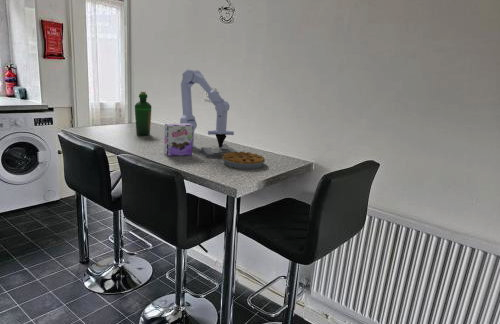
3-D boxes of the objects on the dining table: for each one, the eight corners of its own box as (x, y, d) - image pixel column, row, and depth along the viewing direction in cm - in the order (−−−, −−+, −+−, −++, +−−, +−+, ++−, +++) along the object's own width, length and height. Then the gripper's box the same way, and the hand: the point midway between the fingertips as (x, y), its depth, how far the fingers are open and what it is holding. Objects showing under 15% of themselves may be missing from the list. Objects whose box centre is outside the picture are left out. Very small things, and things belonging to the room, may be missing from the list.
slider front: (213, 153, 181) (213, 147, 180) (211, 151, 185) (211, 145, 184) (218, 153, 182) (218, 147, 181) (216, 151, 186) (217, 145, 185)
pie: (230, 171, 159) (231, 161, 158) (215, 159, 178) (216, 150, 177) (271, 169, 168) (272, 159, 167) (253, 158, 187) (254, 149, 186)
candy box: (166, 156, 176) (167, 124, 172) (163, 153, 181) (164, 123, 177) (192, 155, 182) (193, 124, 178) (189, 152, 187) (189, 123, 183)
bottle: (155, 135, 227) (155, 92, 220) (142, 137, 218) (142, 92, 211) (144, 132, 232) (144, 91, 225) (131, 134, 224) (130, 91, 217)
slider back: (223, 149, 192) (223, 144, 191) (221, 147, 196) (221, 142, 195) (228, 149, 193) (228, 144, 192) (226, 147, 197) (226, 142, 196)
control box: (206, 157, 179) (207, 154, 179) (201, 150, 194) (201, 147, 193) (239, 157, 185) (239, 153, 185) (231, 150, 200) (231, 147, 199)
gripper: (210, 124, 184) (209, 148, 187) (235, 124, 188) (234, 148, 192) (207, 122, 190) (206, 146, 194) (232, 122, 195) (231, 146, 198)
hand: (220, 147), depth 193 cm, fingers closed
